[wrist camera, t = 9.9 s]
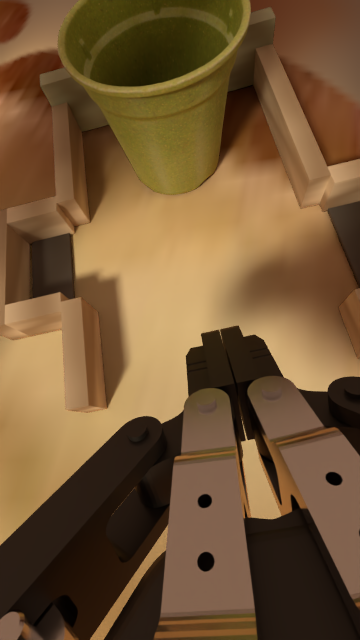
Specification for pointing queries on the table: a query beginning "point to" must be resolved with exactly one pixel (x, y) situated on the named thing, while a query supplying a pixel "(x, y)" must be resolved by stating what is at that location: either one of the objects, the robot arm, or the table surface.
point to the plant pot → (158, 79)
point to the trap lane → (72, 210)
